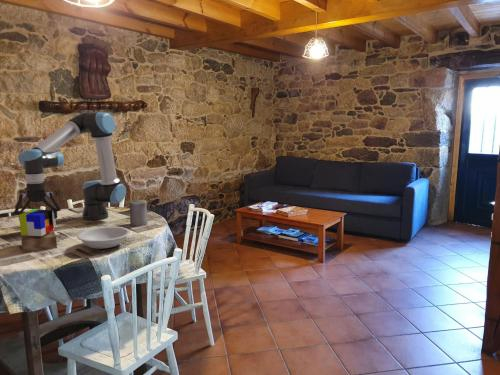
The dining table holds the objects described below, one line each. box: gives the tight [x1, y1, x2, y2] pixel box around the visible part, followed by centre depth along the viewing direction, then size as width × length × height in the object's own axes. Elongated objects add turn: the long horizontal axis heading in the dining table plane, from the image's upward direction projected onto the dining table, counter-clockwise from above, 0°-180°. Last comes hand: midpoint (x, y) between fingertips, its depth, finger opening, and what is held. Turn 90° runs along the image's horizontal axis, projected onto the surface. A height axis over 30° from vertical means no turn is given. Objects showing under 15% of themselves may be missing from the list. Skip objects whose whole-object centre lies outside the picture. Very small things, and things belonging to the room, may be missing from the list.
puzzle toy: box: [18, 208, 55, 236], centre depth 183 cm, size 10×10×10 cm
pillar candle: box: [128, 199, 148, 227], centre depth 223 cm, size 10×10×15 cm
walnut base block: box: [20, 230, 58, 254], centre depth 185 cm, size 14×14×6 cm
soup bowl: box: [76, 226, 131, 250], centre depth 185 cm, size 24×24×7 cm
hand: (39, 226), depth 185 cm, fingers open, 12 cm apart
